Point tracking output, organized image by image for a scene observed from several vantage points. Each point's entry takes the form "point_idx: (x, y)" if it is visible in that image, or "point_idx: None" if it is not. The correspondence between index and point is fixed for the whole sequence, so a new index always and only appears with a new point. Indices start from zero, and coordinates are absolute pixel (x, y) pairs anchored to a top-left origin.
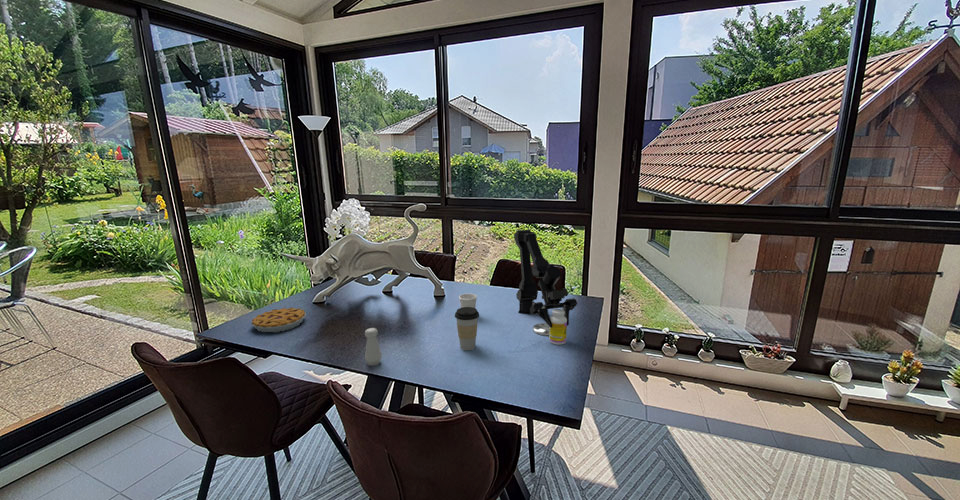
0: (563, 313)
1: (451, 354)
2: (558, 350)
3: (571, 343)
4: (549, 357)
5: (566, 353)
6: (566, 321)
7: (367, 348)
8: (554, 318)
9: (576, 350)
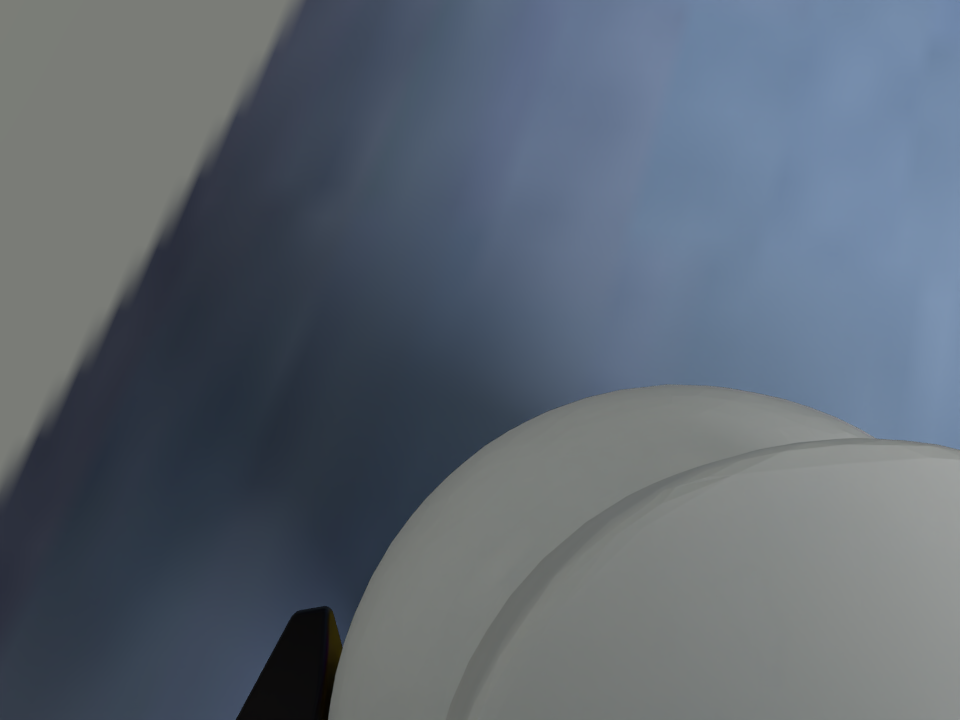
0: (602, 518)
1: None
2: (637, 288)
3: (314, 527)
4: (832, 90)
5: (533, 171)
6: (399, 532)
7: None
8: None
9: (329, 246)
